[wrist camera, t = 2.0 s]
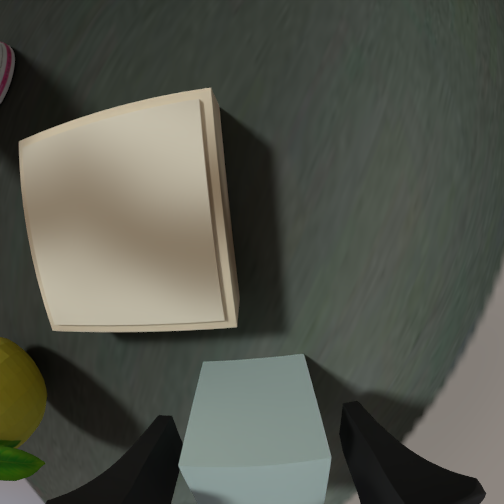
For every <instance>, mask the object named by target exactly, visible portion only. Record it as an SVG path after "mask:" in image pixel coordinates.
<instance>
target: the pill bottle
mask: <svg viewBox="0 0 504 504" xmlns="http://www.w3.org/2000/svg"><path fill="white" fill-rule="evenodd" d="M14 66H15V55H14V51H13V49H12V48H11V47H10V46H9V45H7V44H5V43H3V42H0V104H1V102H2V101H3V99H4V97H5V95H6V93H7V91H8V88H9V86H10V83H11V80H12V76H13V72H14Z"/></svg>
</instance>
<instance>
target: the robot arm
mask: <svg viewBox="0 0 504 504" xmlns="http://www.w3.org/2000/svg"><path fill="white" fill-rule="evenodd" d="M339 435H340V439H341V444H342V448H343V453H344V456H345V459H346V461H347V464H348V467H349V470H350V473H351V475H352V478H353V481H354V484H355V486H356V489H357V492H358V495H359V499H360V503H361V504H480V503H481V502H482V501H483V499H484V498H485V495H486V492H485V491H484V489H483V487H482V485H481V484H480V483H479V481H478V480H477V479H476V478H473V477H469V476H465V475H461V474H458V473H455V472H452V471H449V470H447V469H444V468H442V467H440V466H438V465H436V464H433V463H431V462H429V461H427V460H426V459H424V458H422V457H420V456H419V455H417V454H416V453H414V452H413V451H411V450H409V449H408V448H407V447H405V446H404V445H403V444H401V443H400V442H399V441H398V440H396V439H395V438H394V437H393V436H392V435H390V434H389V433H388V432H387V431H386V430H385V429H384V428H383V427H382V426H381V425H380V424H379V423H378V422H377V421H376V420H375V419H374V418H373V417H372V416H371V415H370V414H369V413H368V412H367V411H366V410H365V409H364V408H363V406H362V405H361V404H360V403H359V402H358V401H354V402H349V403H344V404H343V409H342V417H341V425H340V433H339ZM182 447H183V444H182V441H181V438H180V436H179V433H178V431H177V428H176V426H175V423H174V420H173V417H172V416H162V415H159V416H158V417H157V418H156V419H155V420H154V421H153V423H152V424H151V425H150V426H149V427H148V429H147V430H146V431H145V432H144V433H143V435H142V436H141V437H140V438H139V439H138V440H137V441H136V443H135V444H134V445H133V446H132V447H131V448H130V449H129V450H128V451H127V452H126V453H125V454H124V455H123V456H122V457H121V458H120V459H119V460H118V461H117V462H116V463H115V464H113V465H112V466H111V467H110V468H109V469H107V470H106V471H105V472H103V473H102V474H101V475H99V476H98V477H96V478H95V479H93V480H92V481H90V482H88V483H87V484H85V485H83V486H81V487H80V488H78V489H76V490H74V491H71V492H69V493H67V494H65V495H62V496H59V497H56V498H53V499H50V500H47V502H46V504H171V501H172V497H173V493H174V490H175V486H176V482H177V478H178V474H179V470H180V468H179V466H178V464H179V460H180V456H181V451H182Z"/></svg>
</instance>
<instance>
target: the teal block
mask: <svg viewBox="0 0 504 504" xmlns="http://www.w3.org/2000/svg"><path fill="white" fill-rule="evenodd" d="M330 464H331V453H330V450H329V446H328V442H327V438H326V434H325V430H324V426H323V423H322V419H321V415H320V411H319V408H318V404H317V400H316V396H315V393H314V389H313V385H312V382H311V378H310V374H309V371H308V367H307V363H306V360H305V356H304V354H298V355H289V356H280V357H269V358H258V359H246V360H231V361H212V362H203V365H202V369H201V373H200V377H199V381H198V385H197V389H196V393H195V397H194V401H193V405H192V409H191V413H190V418H189V422H188V426H187V430H186V434H185V439H184V443H183V447H182V451H181V456H180V460H179V464H178V466H179V468H180V470H181V472H182V474H183V476H184V478H185V480H186V482H187V484H188V486H189V488H190V490H191V492H192V494H193V496H194V498H195V499H196V501H197V503H198V504H324V500H325V495H326V489H327V483H328V477H329V471H330Z"/></svg>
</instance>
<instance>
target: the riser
mask: <svg viewBox="0 0 504 504" xmlns="http://www.w3.org/2000/svg"><path fill="white" fill-rule="evenodd" d="M19 162H20V177H21V189H22V198H23V206H24V214H25V220H26V227H27V233H28V238H29V244H30V249H31V254H32V258H33V263H34V267H35V271H36V275H37V279H38V283H39V287H40V291H41V294H42V298H43V301H44V305H45V308H46V311H47V315H48V318H49V321H50V324H51V327H52V330H53V331H73V332H157V331H184V330H204V329H220V328H234V327H237V323H238V312H239V301H240V296H239V287H238V279H237V270H236V262H235V253H234V244H233V235H232V226H231V217H230V208H229V198H228V189H227V179H226V169H225V160H224V149H223V139H222V129H221V118H220V107H219V105H218V102H217V100H216V98H215V96H214V94H213V91H212V89H211V88H205V89H199V90H192V91H186V92H181V93H175V94H170V95H165V96H160V97H155V98H151V99H146V100H142V101H138V102H134V103H130V104H126V105H122V106H118V107H114V108H111V109H107V110H104V111H100V112H97V113H94V114H90V115H87V116H84V117H81V118H78V119H75V120H72V121H69V122H66V123H64V124H61V125H58V126H55V127H53V128H50V129H48V130H45V131H42V132H40V133H37V134H35V135H33V136H30V137H28V138H26V139H23V140H21V141H19Z"/></svg>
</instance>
